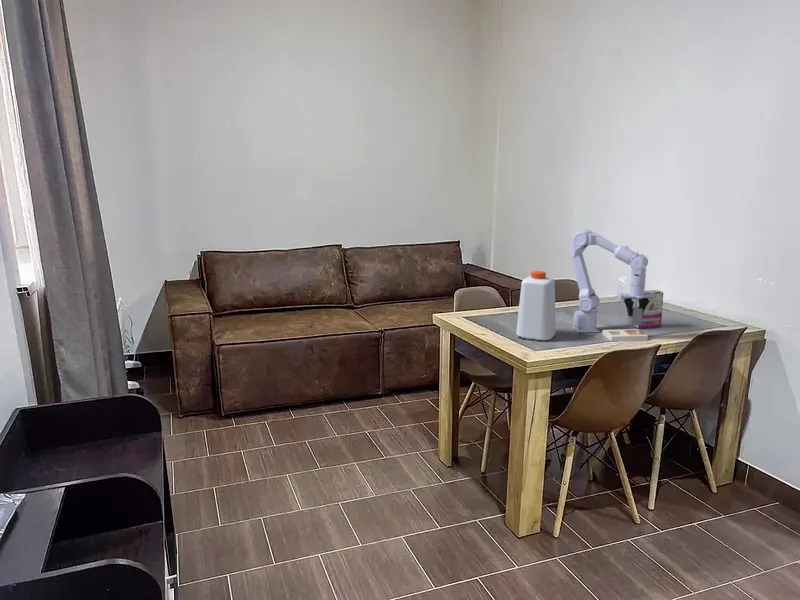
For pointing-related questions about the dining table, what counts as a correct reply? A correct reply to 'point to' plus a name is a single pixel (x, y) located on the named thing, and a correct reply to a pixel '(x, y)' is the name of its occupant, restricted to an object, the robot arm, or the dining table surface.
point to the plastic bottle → (537, 307)
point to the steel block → (636, 316)
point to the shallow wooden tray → (625, 335)
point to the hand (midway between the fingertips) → (635, 315)
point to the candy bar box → (651, 311)
